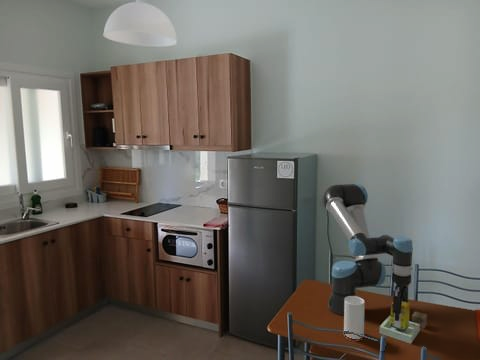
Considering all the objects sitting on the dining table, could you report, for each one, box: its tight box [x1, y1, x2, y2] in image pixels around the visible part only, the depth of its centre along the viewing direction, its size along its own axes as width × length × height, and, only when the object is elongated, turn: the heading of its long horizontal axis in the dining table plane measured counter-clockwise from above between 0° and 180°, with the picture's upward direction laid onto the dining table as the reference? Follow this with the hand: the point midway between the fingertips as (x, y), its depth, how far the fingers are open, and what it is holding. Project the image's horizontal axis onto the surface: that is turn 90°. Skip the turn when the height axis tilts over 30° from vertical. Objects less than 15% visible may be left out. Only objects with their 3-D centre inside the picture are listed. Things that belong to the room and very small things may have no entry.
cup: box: [343, 295, 365, 339], centre depth 155 cm, size 8×8×16 cm
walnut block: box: [411, 311, 428, 330], centre depth 162 cm, size 5×5×5 cm
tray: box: [379, 314, 421, 345], centre depth 157 cm, size 13×13×3 cm
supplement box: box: [390, 301, 411, 331], centre depth 157 cm, size 6×6×11 cm
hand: (399, 323), depth 157 cm, fingers closed on supplement box, 6 cm apart
